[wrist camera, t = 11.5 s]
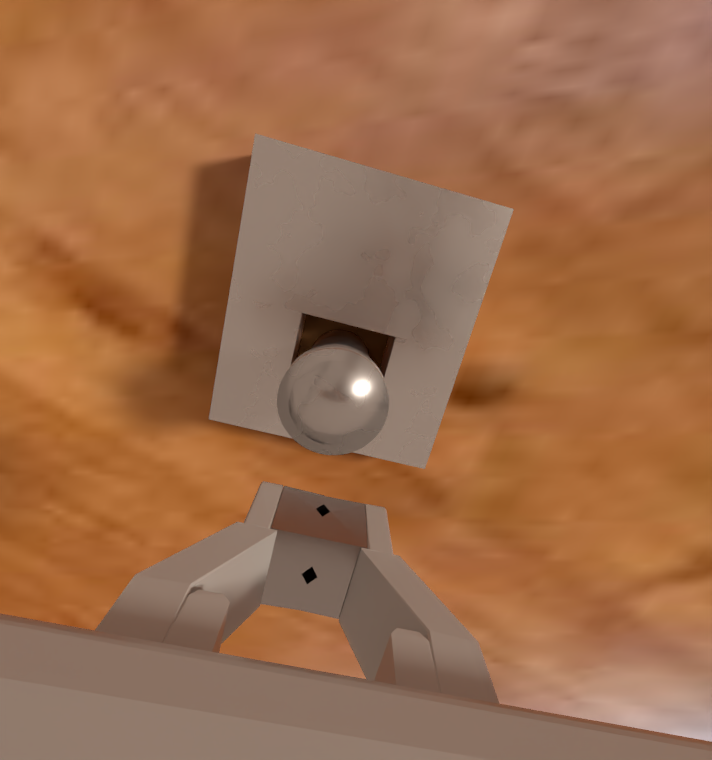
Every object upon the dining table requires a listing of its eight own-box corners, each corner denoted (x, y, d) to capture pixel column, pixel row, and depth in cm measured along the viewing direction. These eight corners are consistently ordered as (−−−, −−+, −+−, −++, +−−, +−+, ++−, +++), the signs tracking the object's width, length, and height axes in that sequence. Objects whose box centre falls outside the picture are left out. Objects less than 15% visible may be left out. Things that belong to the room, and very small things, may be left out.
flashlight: (311, 314, 25) (289, 336, 16) (384, 332, 25) (402, 365, 16) (295, 385, 26) (267, 441, 17) (365, 402, 26) (372, 465, 18)
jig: (268, 151, 22) (255, 133, 19) (493, 216, 23) (513, 209, 20) (224, 403, 26) (208, 419, 23) (416, 448, 27) (424, 468, 24)
